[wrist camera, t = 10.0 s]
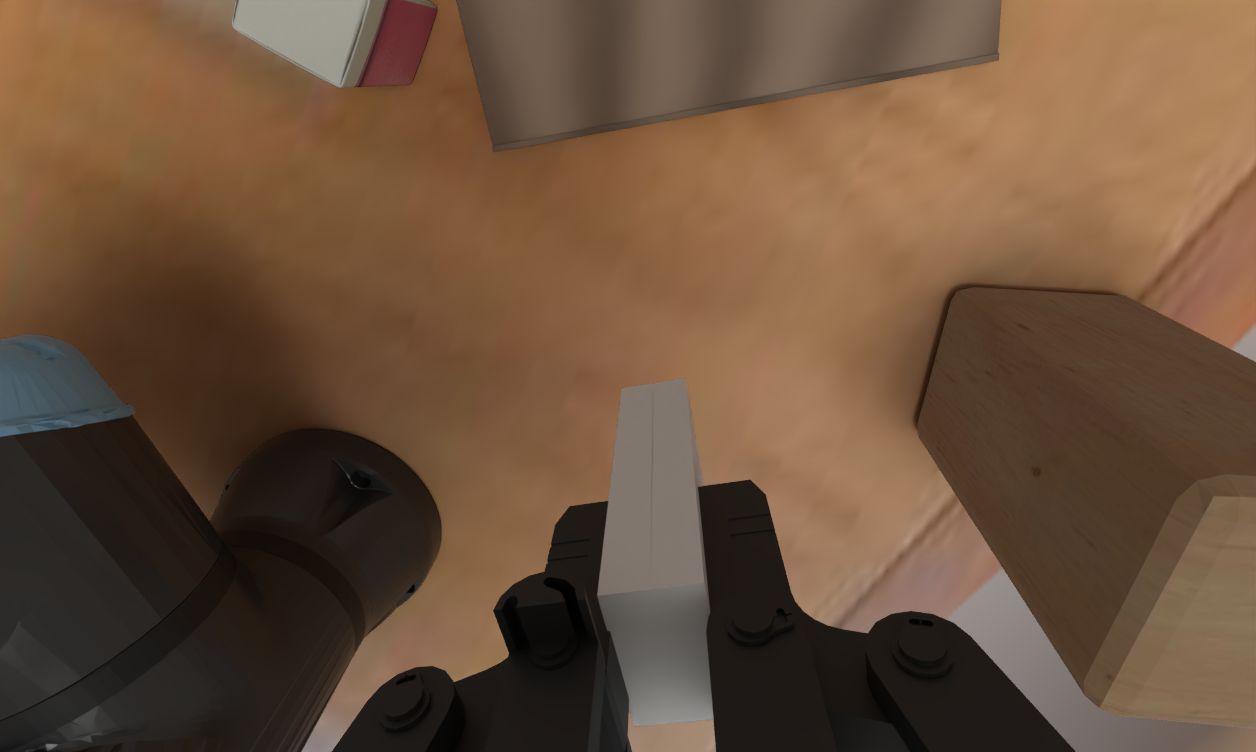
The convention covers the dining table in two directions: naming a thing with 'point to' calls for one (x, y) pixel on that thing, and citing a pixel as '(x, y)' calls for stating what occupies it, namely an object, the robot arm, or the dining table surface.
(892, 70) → the plank
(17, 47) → the dining table surface
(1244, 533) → the wooden block
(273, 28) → the small box
